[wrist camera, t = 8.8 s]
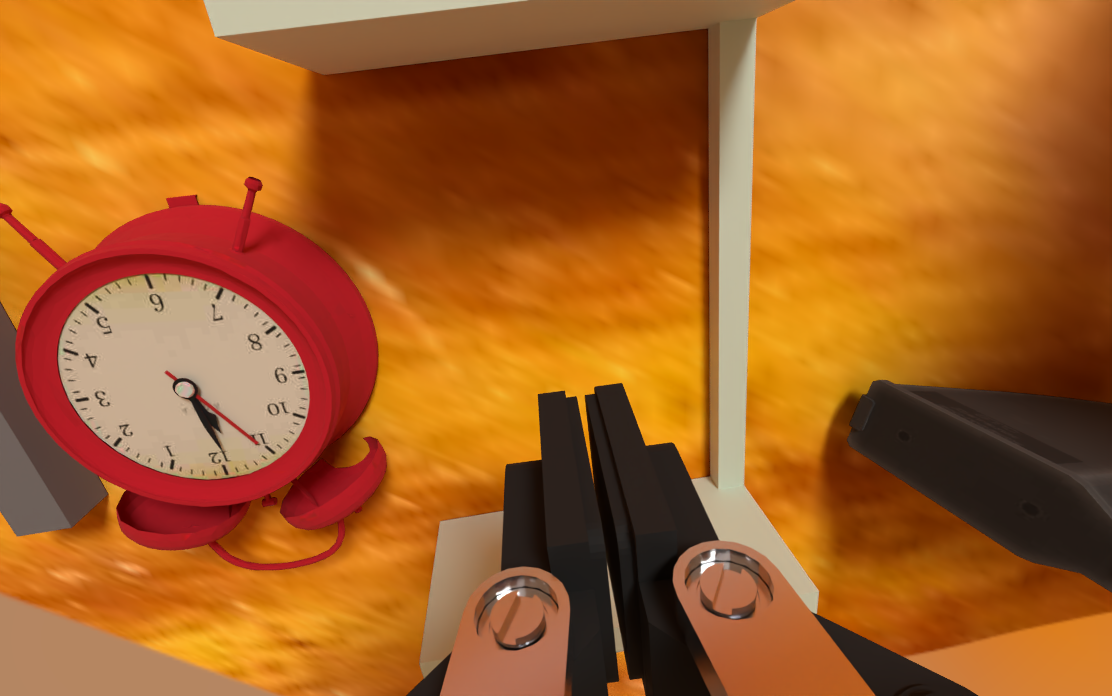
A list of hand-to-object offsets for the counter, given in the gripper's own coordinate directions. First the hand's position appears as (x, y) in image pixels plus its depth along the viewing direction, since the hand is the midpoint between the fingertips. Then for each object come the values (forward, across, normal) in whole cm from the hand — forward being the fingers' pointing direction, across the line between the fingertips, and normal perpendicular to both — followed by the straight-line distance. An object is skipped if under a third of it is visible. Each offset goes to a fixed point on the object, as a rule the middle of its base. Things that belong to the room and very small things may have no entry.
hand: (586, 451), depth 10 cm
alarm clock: (+11, +12, +2) cm, 16 cm away
